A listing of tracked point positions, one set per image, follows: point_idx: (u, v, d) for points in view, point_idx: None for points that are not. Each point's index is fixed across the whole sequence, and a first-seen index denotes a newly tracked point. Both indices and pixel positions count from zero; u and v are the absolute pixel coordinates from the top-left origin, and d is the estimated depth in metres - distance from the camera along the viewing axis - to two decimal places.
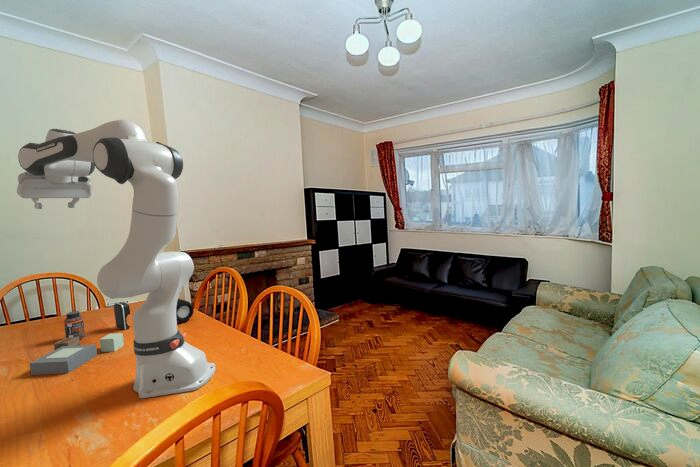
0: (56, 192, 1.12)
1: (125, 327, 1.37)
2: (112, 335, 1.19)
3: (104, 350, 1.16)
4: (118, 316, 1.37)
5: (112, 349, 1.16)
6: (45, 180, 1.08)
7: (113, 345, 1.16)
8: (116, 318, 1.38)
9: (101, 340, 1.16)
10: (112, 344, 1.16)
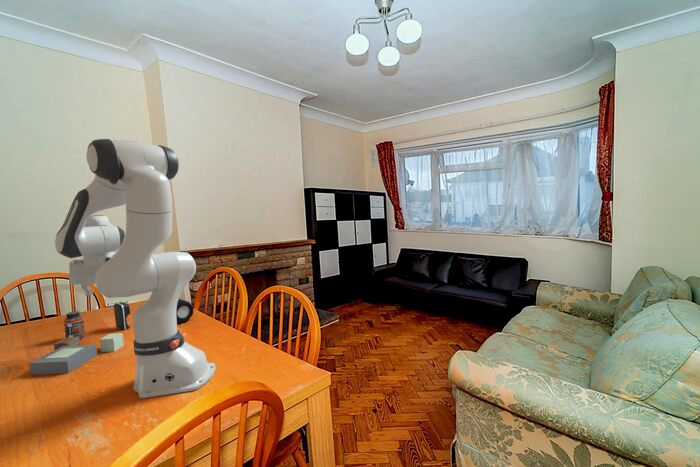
0: (95, 277, 1.15)
1: (125, 327, 1.37)
2: (112, 335, 1.19)
3: (104, 350, 1.16)
4: (118, 316, 1.37)
5: (112, 349, 1.16)
6: (84, 265, 1.14)
7: (113, 345, 1.16)
8: (116, 318, 1.38)
9: (101, 340, 1.16)
10: (112, 344, 1.16)
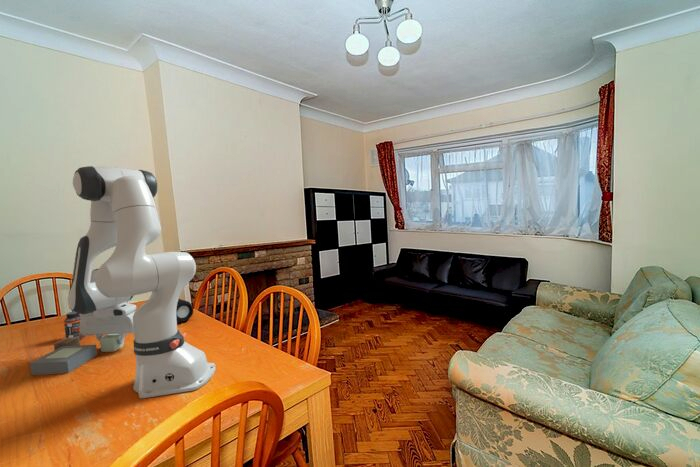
0: (104, 328, 1.16)
1: None
2: (112, 335, 1.19)
3: (104, 349, 1.16)
4: None
5: (112, 349, 1.16)
6: (94, 316, 1.16)
7: (113, 345, 1.16)
8: None
9: (101, 340, 1.16)
10: (112, 344, 1.16)
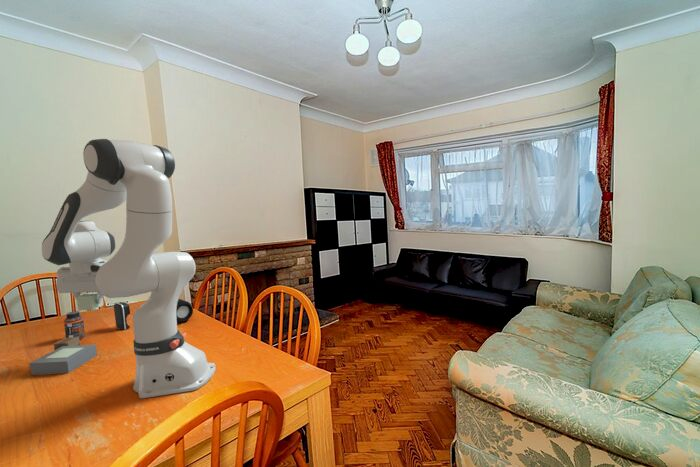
0: (82, 285, 1.10)
1: (125, 327, 1.37)
2: (91, 293, 1.13)
3: (81, 308, 1.11)
4: (118, 316, 1.37)
5: (90, 307, 1.11)
6: (71, 273, 1.10)
7: (91, 303, 1.11)
8: (116, 318, 1.38)
9: (78, 297, 1.10)
10: (90, 302, 1.10)
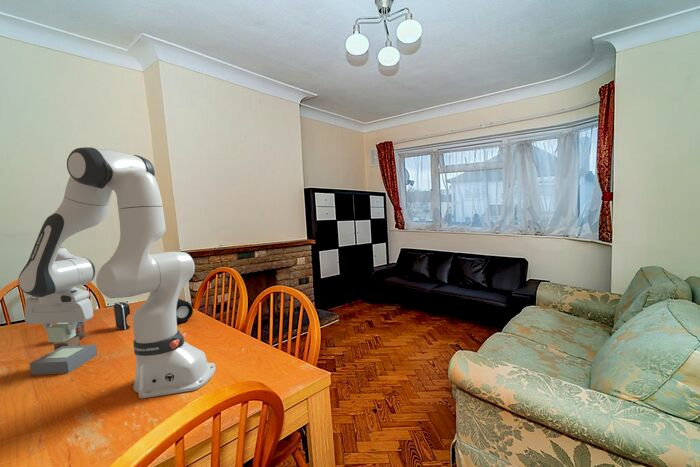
0: (52, 316, 1.04)
1: (125, 327, 1.37)
2: (62, 324, 1.07)
3: (51, 340, 1.04)
4: (118, 316, 1.37)
5: (60, 339, 1.04)
6: (40, 303, 1.04)
7: (61, 335, 1.04)
8: (116, 318, 1.38)
9: (48, 329, 1.04)
10: (60, 333, 1.04)
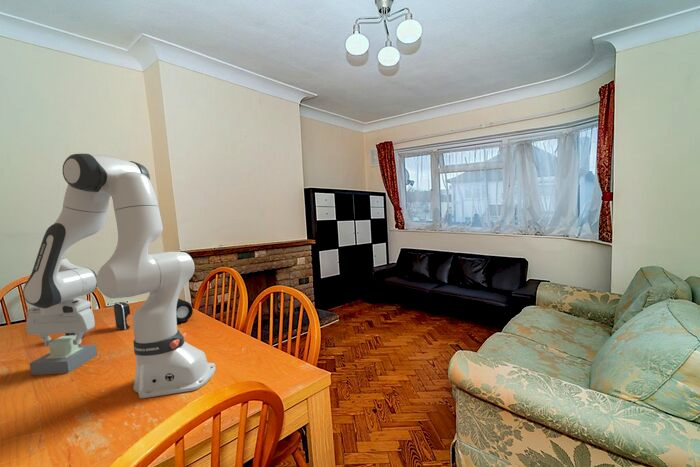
0: (53, 327, 1.05)
1: (125, 327, 1.37)
2: (64, 338, 1.08)
3: (53, 354, 1.05)
4: (118, 316, 1.37)
5: (63, 353, 1.05)
6: None
7: (64, 349, 1.05)
8: (116, 318, 1.38)
9: (50, 343, 1.04)
10: (63, 348, 1.05)
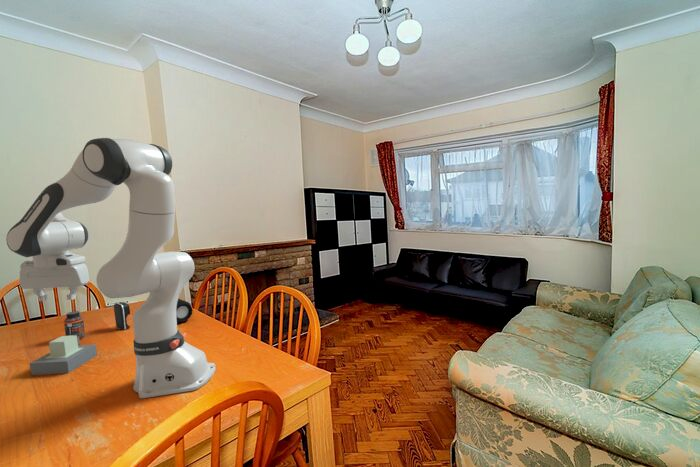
0: (47, 280, 1.03)
1: (125, 327, 1.37)
2: (64, 338, 1.08)
3: (53, 354, 1.05)
4: (118, 316, 1.37)
5: (63, 353, 1.05)
6: (35, 267, 1.03)
7: (64, 349, 1.05)
8: (116, 318, 1.38)
9: (50, 343, 1.04)
10: (63, 348, 1.05)
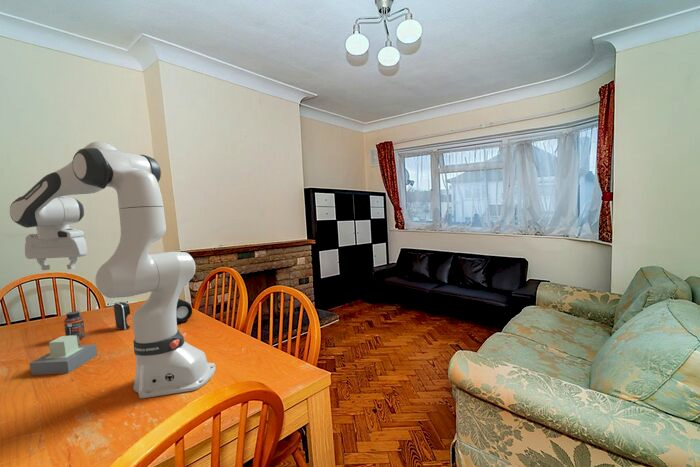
0: (49, 251, 1.15)
1: (125, 327, 1.37)
2: (64, 338, 1.08)
3: (53, 354, 1.05)
4: (118, 316, 1.37)
5: (63, 353, 1.05)
6: (39, 239, 1.14)
7: (64, 349, 1.05)
8: (116, 318, 1.38)
9: (50, 343, 1.04)
10: (63, 348, 1.05)
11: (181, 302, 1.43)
